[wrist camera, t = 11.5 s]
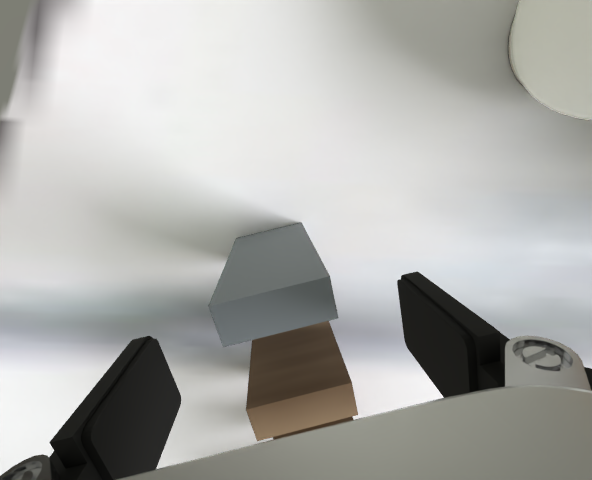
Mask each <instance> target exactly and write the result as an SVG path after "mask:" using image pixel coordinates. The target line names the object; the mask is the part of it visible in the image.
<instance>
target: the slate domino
mask: <svg viewBox="0 0 592 480" xmlns="http://www.w3.org/2000/svg"><path fill="white" fill-rule="evenodd" d="M208 307H209V309H210V312H211V315H212V318H213V320H214V323H215V326H216V329H217V331H218V334H219V337H220V340H221V343H222V345H223V347H226V346H230V345H234V344H238V343H242V342H246V341H250V340H254V339H258V338H262V337H266V336H270V335H274V334H278V333H282V332H286V331H290V330H294V329H298V328H302V327H305V326H309V325H313V324H317V323H321V322H325V321H329V320H333V319H337V318H338V314H337V309H336V305H335V300H334V295H333V290H332V285H331V280H330V276H329V274H328V272H327V270H326V268H325V266H324V264H323V263H322V261H321V259H320V257H319V255H318V253H317V251H316V249H315V247H314V245H313V244H312V242H311V240H310V238H309V236H308V234H307V232H306V230H305V228H304V227H303V225H302V223H297V224H293V225H289V226H285V227H281V228H277V229H273V230H268V231H264V232H260V233H256V234H252V235H248V236H244V237H239V238H236V240H235V243H234V245H233V248H232V250H231V252H230V255H229V257H228V260H227V262H226V265H225V267H224V269H223V272H222V274H221V277H220V279H219V282H218V284H217V287H216V289H215V291H214V294H213V296H212V299H211V301H210V304H209V306H208Z"/></svg>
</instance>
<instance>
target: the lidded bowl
mask: <svg viewBox="0 0 592 480" xmlns="http://www.w3.org/2000/svg"><path fill="white" fill-rule="evenodd" d="M508 49H509V59H510V64H511V67H512V70H513V72H514V74H515V76H516V78H517V79H518V80H519V82H520V83H521V84H522V85H523V86H524V87H525V88H526V90H527V91H528V92H529V93H530V95H531V96H532V97H533V98H535V99H536V100H537V101H538V102H539V103H541V104H542V105H544V106H546V107H547V108H549V109H551V110H553V111H555V112H557V113H561V114H564V115H567V116H571V117H574V118H578V119H585V120H592V0H519V3H518V6H517V10H516V14H515V17H514V20H513V23H512V26H511V30H510V35H509V44H508Z"/></svg>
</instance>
